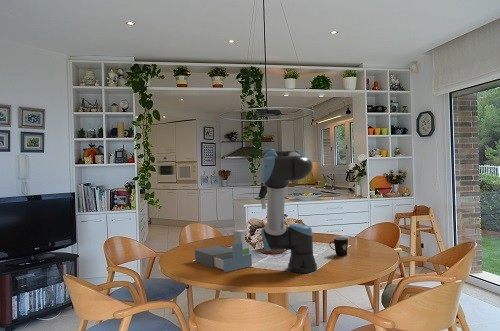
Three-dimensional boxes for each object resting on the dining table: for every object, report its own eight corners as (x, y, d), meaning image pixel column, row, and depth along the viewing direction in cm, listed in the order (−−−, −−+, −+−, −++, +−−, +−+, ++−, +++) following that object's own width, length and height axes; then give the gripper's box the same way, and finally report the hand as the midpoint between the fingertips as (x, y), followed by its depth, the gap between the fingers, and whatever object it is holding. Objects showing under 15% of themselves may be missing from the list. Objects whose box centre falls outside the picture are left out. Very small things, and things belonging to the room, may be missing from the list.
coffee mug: (347, 253, 216) (346, 236, 216) (350, 256, 207) (349, 239, 208) (328, 253, 217) (327, 237, 217) (330, 256, 209) (329, 239, 209)
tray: (252, 265, 194) (251, 241, 194) (224, 272, 183) (223, 246, 183) (232, 259, 210) (231, 236, 210) (205, 265, 199) (204, 241, 199)
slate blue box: (239, 262, 204) (239, 250, 204) (212, 268, 193) (212, 255, 193) (221, 256, 220) (220, 245, 220) (195, 261, 209) (194, 249, 209)
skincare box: (241, 257, 215) (240, 231, 216) (233, 256, 219) (232, 231, 220) (250, 254, 222) (249, 229, 222) (241, 253, 226) (241, 228, 226)
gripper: (288, 174, 205) (289, 210, 205) (261, 174, 225) (262, 207, 225) (278, 174, 201) (279, 211, 200) (252, 175, 221) (253, 208, 220)
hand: (270, 209), depth 213 cm, fingers open, 13 cm apart
